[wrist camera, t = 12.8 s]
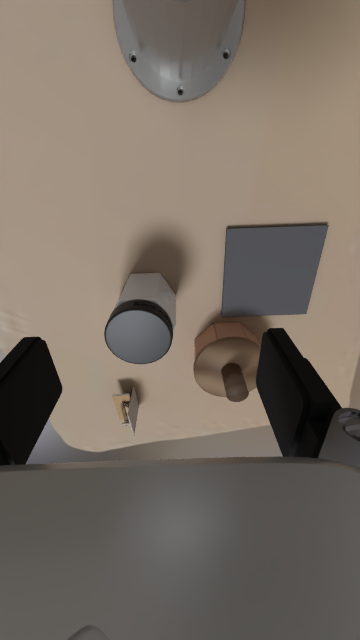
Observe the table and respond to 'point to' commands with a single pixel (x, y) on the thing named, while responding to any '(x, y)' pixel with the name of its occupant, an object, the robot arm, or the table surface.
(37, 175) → the table surface
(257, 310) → the mat
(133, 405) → the architectural model
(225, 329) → the bowl
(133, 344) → the jar
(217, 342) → the lid
